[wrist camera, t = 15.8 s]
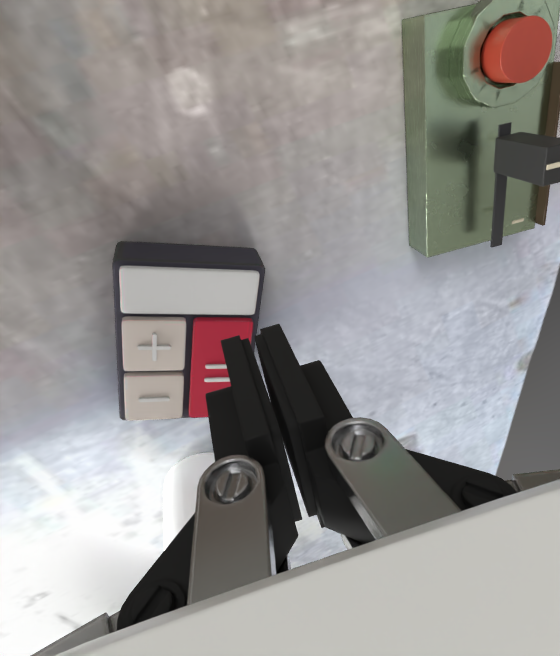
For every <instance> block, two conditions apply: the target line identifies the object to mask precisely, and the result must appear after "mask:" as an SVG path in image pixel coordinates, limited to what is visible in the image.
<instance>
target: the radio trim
mask: <svg viewBox="0 0 560 656" xmlns="http://www.w3.org/2000/svg"><path fill="white" fill-rule="evenodd" d="M559 112H560V62H554V64H553V72H552V81H551V89H550V98H549V106H548V115H547V124H546V132H545V136H551V137H556V135H557V127H558V119H559ZM511 124H512V123H511V122H509V123H505V124H501V125H498V137H501V136H505V135H509V134H511ZM506 187H507V176H505V175H501V174H498V173H495V186H494V201H493V216H492V232H491V247H495V246H499V245H502V237H503V225H504V212H505V200H506ZM549 189H550V185H547V186H539V192H538V201H537V209H536V218H535V223H538V224H540V225H545V220H546V213H547V205H548V197H549ZM522 221H524V218H521V219H517V220H514V221H512V224H515V223H518V222H522Z"/></svg>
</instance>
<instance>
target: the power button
mask: <svg viewBox="0 0 560 656" xmlns="http://www.w3.org/2000/svg"><path fill="white" fill-rule="evenodd" d="M551 48H552V32H551V28H550V26H549V24H548V23H547V22H546V21H545V20H544V19H543V18H541V17H539V16H526V17H519V18H513V19H507V20H504V21H502V22H501V23H499V24H498V25H496V26H495V27H494V28H493V29H492V30H491V32H490V33H489V35H488V36H487V38H486V40H485V42H484V45H483V48H482V53H481V65H482V69H483V72H484V73H485V75H486V76H487V78H489V79H490V80H491V81H493V82H497V83H524V82H527V81H529V80H531V79H532V78H534V77H535V76H536V75H537V74H538V73H539V72H540V71H541V70H542V69H543V67H544V66H545V64H546V62H547V60H548V58H549V55H550V52H551Z"/></svg>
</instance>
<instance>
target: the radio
mask: <svg viewBox="0 0 560 656" xmlns="http://www.w3.org/2000/svg"><path fill="white" fill-rule="evenodd" d="M559 12H560V0H480V1H479V2H478V3H477V4H472V5H468V6H463V7H458V8H454V9H449V10H444V11H440V12H435V13H430V14H426V15H421V16H416V17H412V18H407V19H403V20H402V43H403V72H404V101H405V131H406V160H407V190H408V219H409V245H410V246H411V247H412V248H414V249H415V250H417V251H418V252H420V253H421V254H423V255H424V256H426V257H427V258H428V257H431V256H435V255H439V254H442V253H446V252H450V251H453V250H457V249H460V248H464V247H468V246H471V245H475V244H478V243H482V242H486V241H489V240H491V232H492V216H493V201H494V186H495V172H494V155H495V140H496V138H497V137H498V125H501V124H505V123H509V122H511V123H512V124H511V134H513V133H517V132H526V133H532V134H538V135H545V132H546V124H547V115H548V106H549V98H550V89H551V81H552V72H553V64H554V55H555V46H556V38H557V29H558V21H559ZM526 16H539V17H541V18H543V19H544V20H545V21H546V22H547V23H548V24H549V26H550V28H551V32H552V48H551V52H550V55H549V58H548V60H547V62H546V64H545V66H544V67H543V69H542V70H541V71H540V72H539V73H538V74H537V75H536V76H535V77H534V78H532V79H531V80H529V81H527V82H524V83H497V82H493V81H491V80H490V79H489V78H487V76H486V75H485V73H484V72H483V69H482V65H481V53H482V48H483V45H484V42H485V40H486V38H487V36H488V35H489V33H490V32H491V30H492V29H493V28H494V27H495V26H496V25H498V24H499V23H501V22H502V21H504V20H507V19H513V18H519V17H526ZM538 192H539V185H536V184H532V183H529V182H525V181H522V180H518V179H515V178H512V177H508V176H507V187H506V200H505V212H504V225H503V237H504V236H507V235H511V234H515V233H518V232H522V231H526V230H529V229H533V228H534V227H535V218H536V209H537V201H538ZM521 218H524V221H522V222H518V223H515V224H512V221H514V220H517V219H521Z"/></svg>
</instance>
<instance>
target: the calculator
mask: <svg viewBox="0 0 560 656" xmlns="http://www.w3.org/2000/svg"><path fill="white" fill-rule="evenodd" d="M264 274H265V268H264V265H263V263H262V261H261V259H260V257H259V255H258V253H257V251H256V250H255V249H254V248H241V247H221V246H202V245H183V244H164V243H145V242H126V241H121V242H118V243H117V245H116V249H115V254H114V258H113V287H114V308H115V329H116V350H117V371H118V392H119V413H120V418H121V419H122V420H129V421H133V420H154V419H176V418H188V417H191V418H198V417H208V410H207V404H206V396H205V395H206V393H209V392H213V391H216V390H219V389H223V388H226V387H230V386H231V383H230V379H229V375H228V371H227V366H226V362H225V358H224V354H223V349H222V345H221V341H220V340H223V339H227V338H231V337H234V336H238V335H240V339H241V340H243V339H246V338H249V341H250V344H251V347H252V350H253V353H254V348H255V338H254V336H256V333H257V326H258V319H259V311H260V304H261V297H262V289H263V282H264Z"/></svg>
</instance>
